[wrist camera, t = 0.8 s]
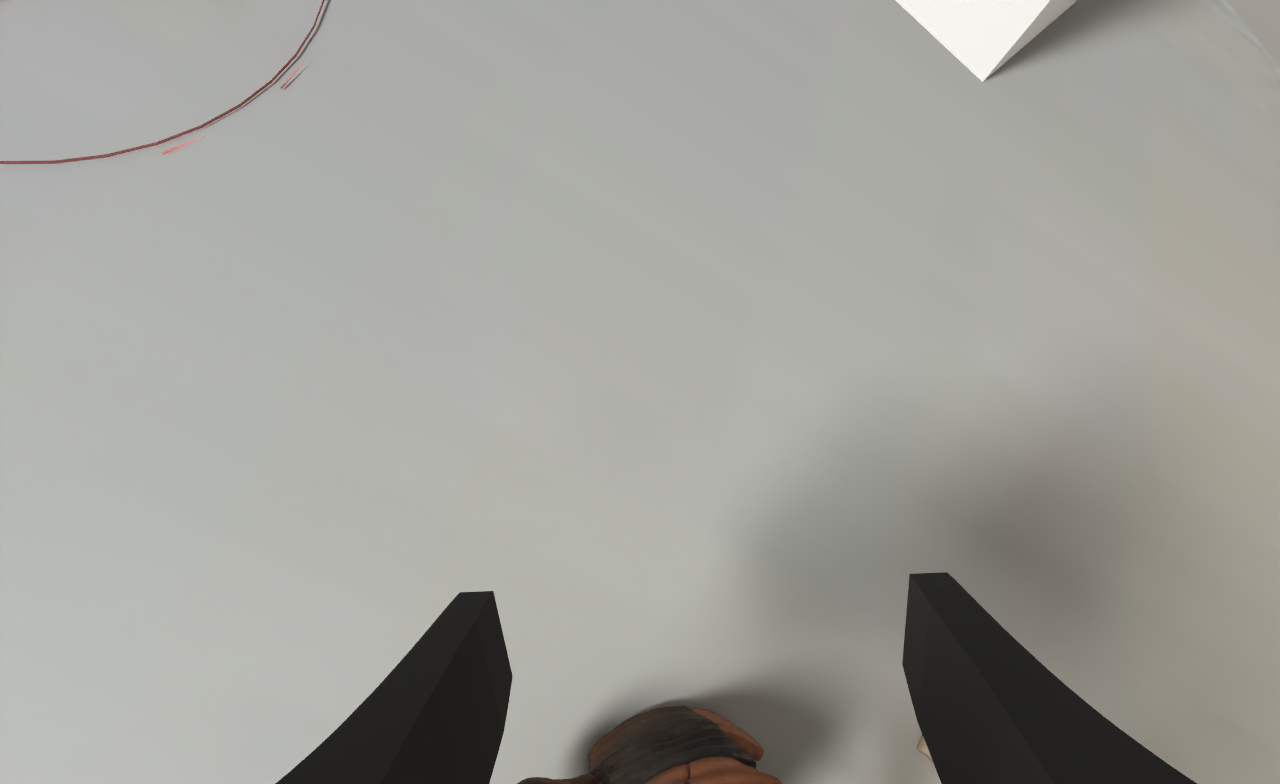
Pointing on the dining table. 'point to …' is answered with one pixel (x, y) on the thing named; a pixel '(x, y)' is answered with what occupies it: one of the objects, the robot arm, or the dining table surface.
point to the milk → (985, 27)
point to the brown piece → (673, 752)
